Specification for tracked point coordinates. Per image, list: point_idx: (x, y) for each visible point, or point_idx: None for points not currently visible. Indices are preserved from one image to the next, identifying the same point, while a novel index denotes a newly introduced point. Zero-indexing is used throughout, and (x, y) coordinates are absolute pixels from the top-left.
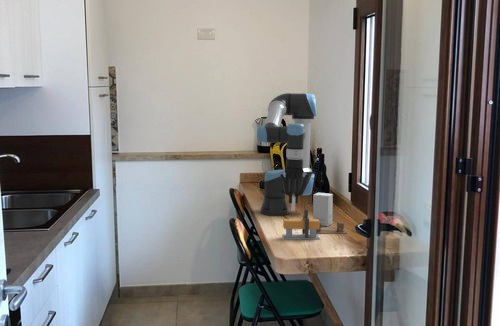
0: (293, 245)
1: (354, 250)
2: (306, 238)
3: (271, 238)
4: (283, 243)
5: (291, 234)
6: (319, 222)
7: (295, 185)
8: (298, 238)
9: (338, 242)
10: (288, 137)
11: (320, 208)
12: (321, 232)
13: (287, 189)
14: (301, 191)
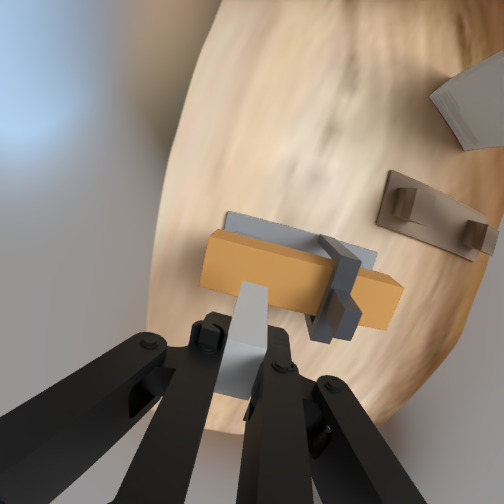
0: None
1: (375, 414)
2: None
3: (168, 239)
4: (194, 314)
5: None
6: (382, 327)
7: (240, 497)
8: None
9: (391, 349)
10: None
11: (491, 112)
12: (408, 232)
13: (129, 429)
14: (317, 451)
